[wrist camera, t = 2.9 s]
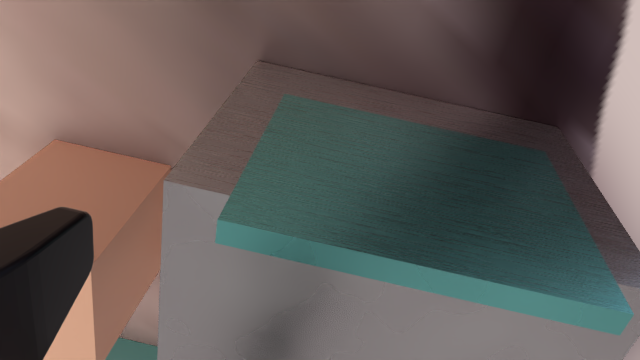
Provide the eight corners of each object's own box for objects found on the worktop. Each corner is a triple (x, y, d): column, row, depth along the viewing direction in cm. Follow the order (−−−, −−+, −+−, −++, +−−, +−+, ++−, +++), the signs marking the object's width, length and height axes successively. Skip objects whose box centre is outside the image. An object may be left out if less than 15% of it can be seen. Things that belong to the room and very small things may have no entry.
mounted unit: (493, 268, 20) (560, 535, 12) (238, 210, 20) (130, 433, 12) (564, 113, 17) (725, 335, 9) (259, 45, 17) (130, 199, 9)
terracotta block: (167, 257, 22) (96, 373, 17) (63, 233, 22) (-39, 341, 17) (171, 165, 20) (90, 266, 15) (55, 139, 20) (-66, 230, 15)
